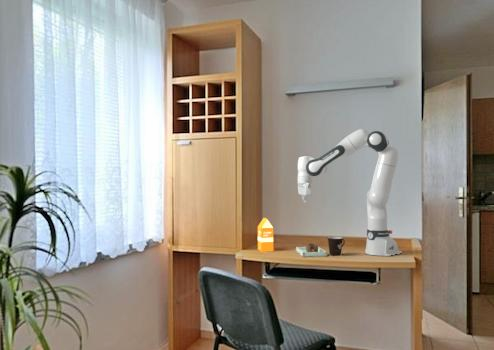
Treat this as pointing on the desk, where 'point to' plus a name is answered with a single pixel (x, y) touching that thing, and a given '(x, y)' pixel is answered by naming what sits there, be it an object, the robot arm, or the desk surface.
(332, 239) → the coffee mug
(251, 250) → the desk surface
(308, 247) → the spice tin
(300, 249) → the tray
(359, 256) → the desk surface
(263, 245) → the orange juice
